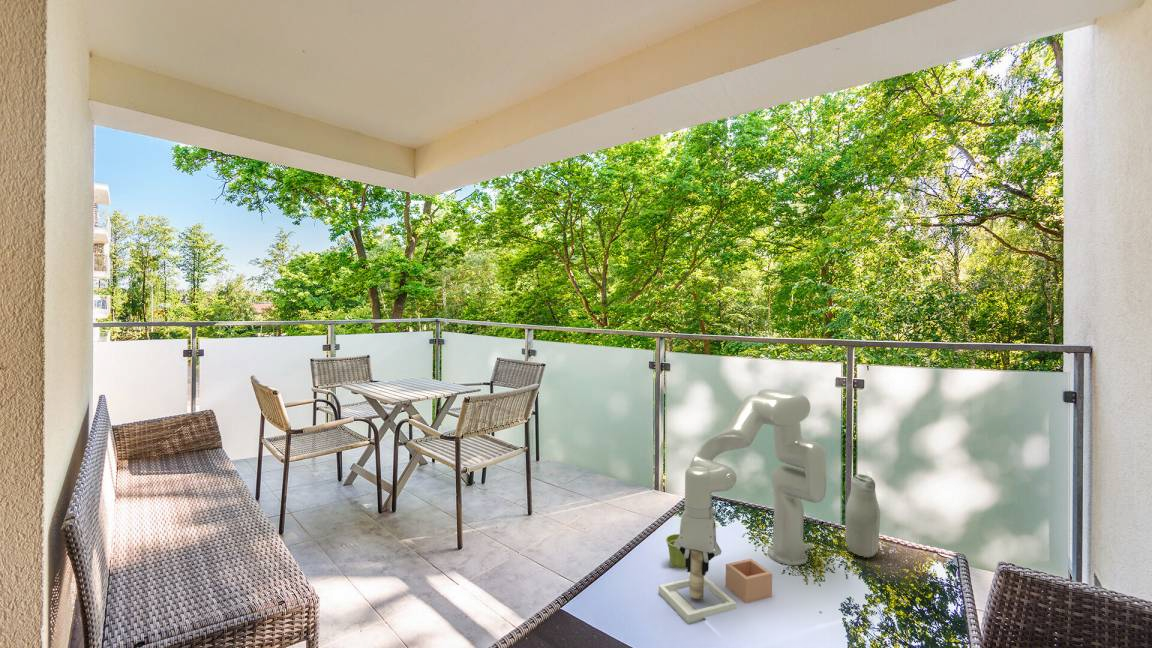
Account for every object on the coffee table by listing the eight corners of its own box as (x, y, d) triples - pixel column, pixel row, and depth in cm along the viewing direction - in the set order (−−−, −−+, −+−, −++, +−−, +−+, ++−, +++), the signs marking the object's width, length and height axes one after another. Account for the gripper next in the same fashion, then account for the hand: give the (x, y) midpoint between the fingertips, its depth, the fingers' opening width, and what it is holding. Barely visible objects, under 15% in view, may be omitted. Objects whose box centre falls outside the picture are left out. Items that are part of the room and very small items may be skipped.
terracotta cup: (750, 583, 166) (751, 558, 166) (771, 599, 157) (772, 573, 157) (725, 589, 163) (725, 563, 162) (745, 606, 154) (746, 579, 154)
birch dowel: (698, 590, 158) (699, 544, 158) (706, 597, 155) (707, 550, 154) (686, 593, 157) (687, 546, 156) (694, 600, 153) (695, 552, 152)
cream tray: (703, 583, 166) (703, 575, 166) (736, 611, 151) (736, 603, 151) (658, 593, 160) (658, 585, 160) (688, 624, 146) (688, 615, 145)
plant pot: (694, 574, 172) (695, 548, 171) (665, 571, 173) (665, 545, 173) (694, 560, 181) (694, 535, 180) (666, 557, 183) (666, 532, 182)
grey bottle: (883, 556, 184) (886, 476, 182) (867, 564, 178) (870, 482, 176) (854, 545, 192) (857, 469, 190) (839, 553, 186) (841, 474, 184)
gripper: (729, 510, 154) (728, 571, 155) (672, 501, 161) (671, 560, 162) (725, 520, 148) (724, 584, 149) (666, 510, 154) (665, 571, 155)
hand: (696, 571), depth 155 cm, fingers closed on birch dowel, 3 cm apart
